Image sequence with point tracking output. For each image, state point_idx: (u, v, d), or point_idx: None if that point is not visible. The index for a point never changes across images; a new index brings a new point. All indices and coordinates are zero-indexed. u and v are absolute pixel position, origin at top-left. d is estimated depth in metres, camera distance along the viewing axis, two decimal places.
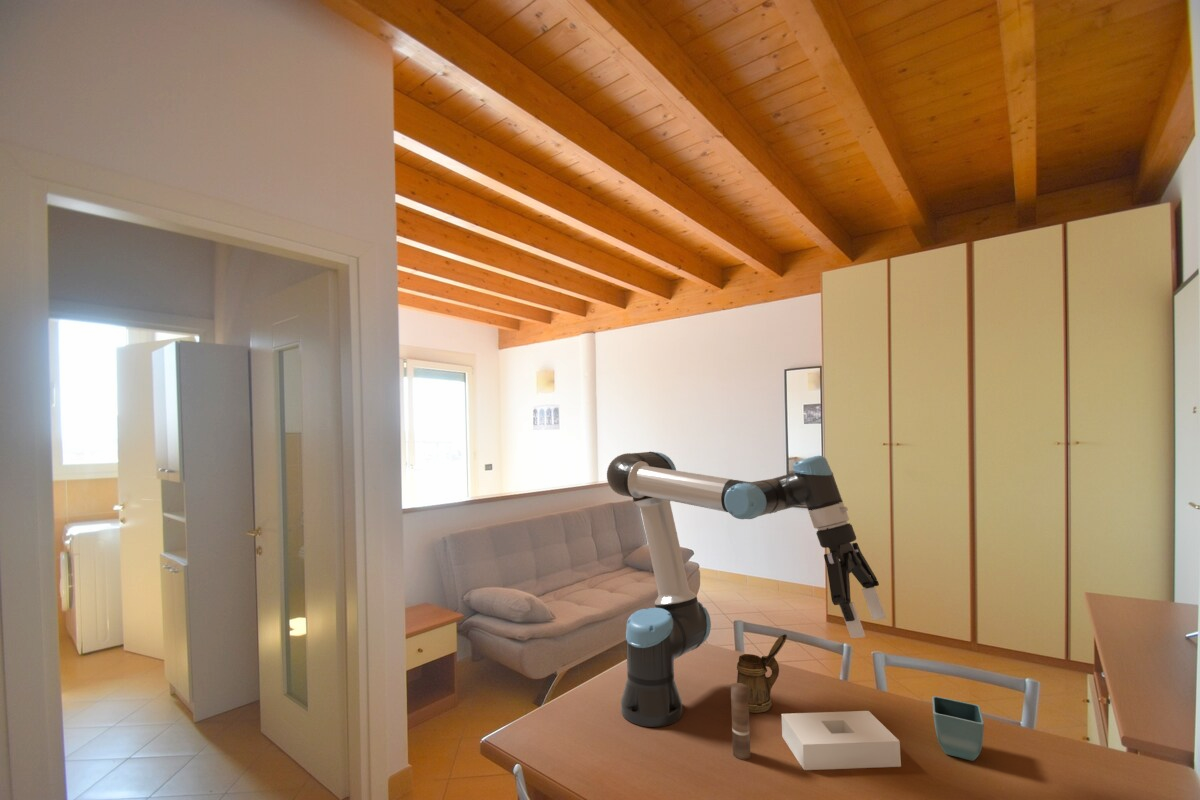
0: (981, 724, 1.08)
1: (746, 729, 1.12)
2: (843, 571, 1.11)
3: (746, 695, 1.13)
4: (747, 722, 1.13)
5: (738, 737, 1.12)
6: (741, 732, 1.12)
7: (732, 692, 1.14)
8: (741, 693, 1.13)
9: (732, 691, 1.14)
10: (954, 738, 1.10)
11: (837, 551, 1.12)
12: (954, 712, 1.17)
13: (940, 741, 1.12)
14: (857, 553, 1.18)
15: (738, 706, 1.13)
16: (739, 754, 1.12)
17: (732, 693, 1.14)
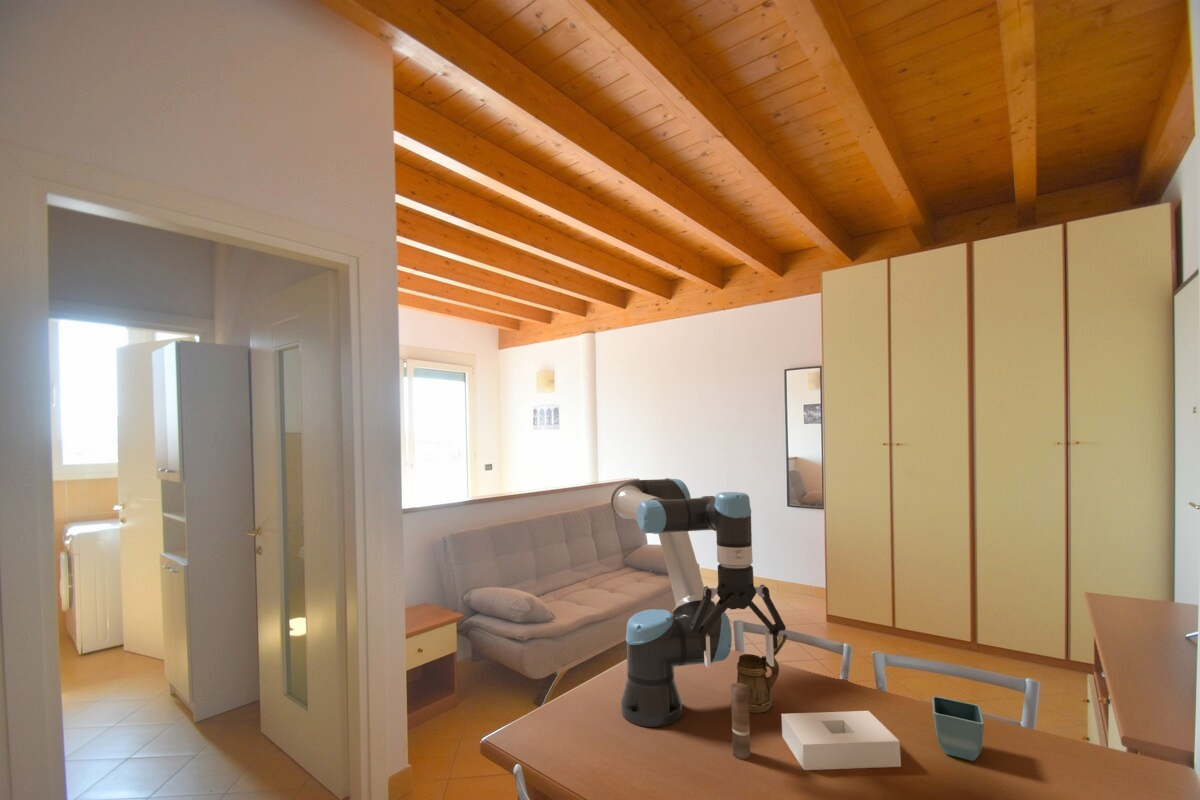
0: (981, 724, 1.08)
1: (746, 729, 1.12)
2: (717, 608, 1.15)
3: (746, 695, 1.13)
4: (747, 722, 1.13)
5: (738, 737, 1.12)
6: (741, 732, 1.12)
7: (732, 692, 1.14)
8: (741, 693, 1.13)
9: (732, 691, 1.14)
10: (954, 738, 1.10)
11: (719, 589, 1.15)
12: (954, 712, 1.17)
13: (940, 741, 1.12)
14: (764, 597, 1.15)
15: (738, 706, 1.13)
16: (739, 754, 1.12)
17: (732, 693, 1.14)
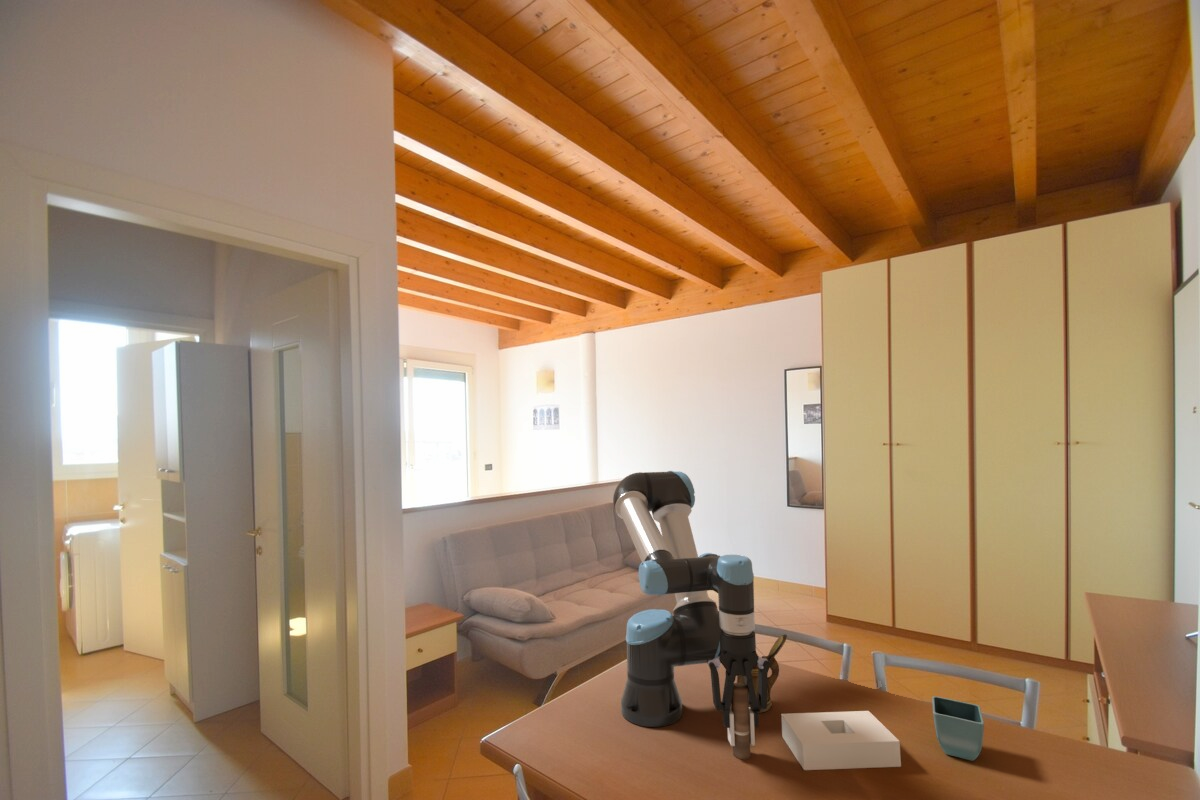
0: (981, 724, 1.08)
1: (746, 729, 1.12)
2: (727, 679, 1.14)
3: (746, 695, 1.13)
4: (747, 722, 1.13)
5: (738, 737, 1.12)
6: (741, 732, 1.12)
7: None
8: (741, 693, 1.13)
9: None
10: (954, 738, 1.10)
11: (719, 657, 1.14)
12: (954, 712, 1.17)
13: (940, 741, 1.12)
14: (761, 670, 1.14)
15: (738, 706, 1.13)
16: (739, 754, 1.12)
17: None
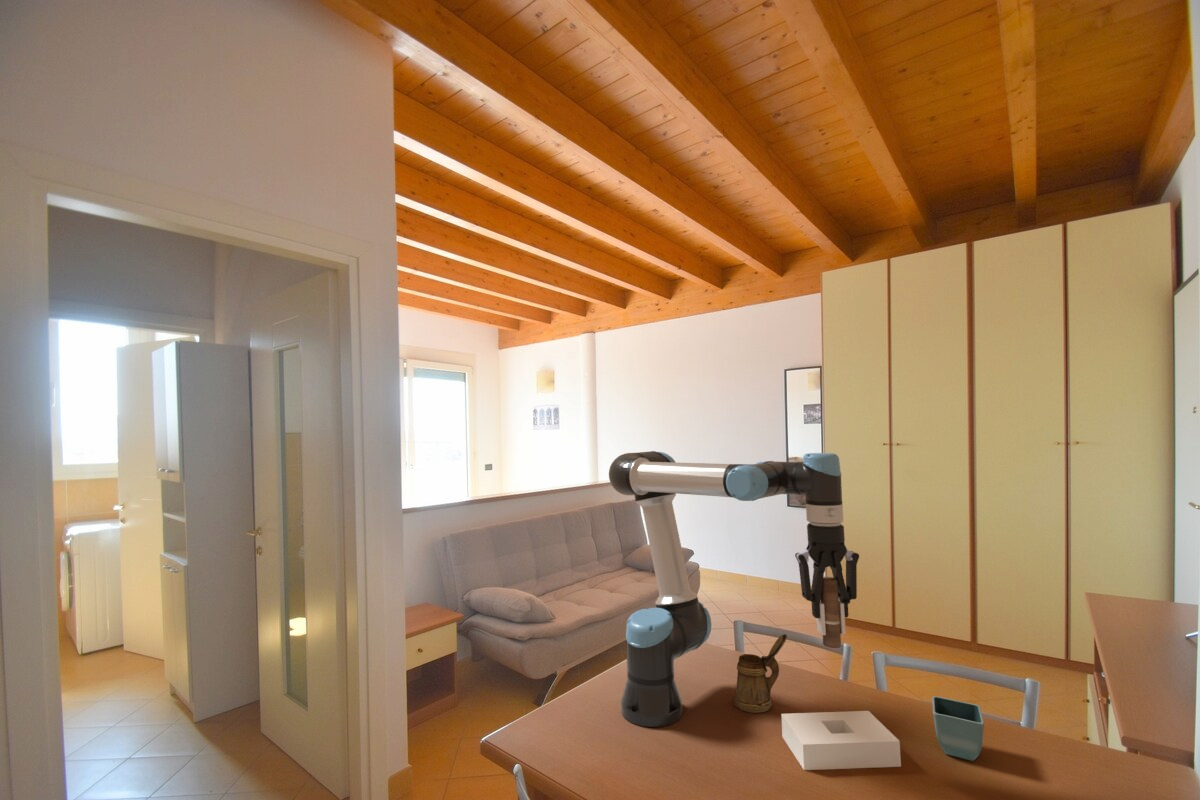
0: (981, 724, 1.08)
1: (837, 618, 1.14)
2: (817, 571, 1.16)
3: (836, 586, 1.15)
4: (838, 612, 1.14)
5: (829, 627, 1.14)
6: (832, 621, 1.14)
7: None
8: (831, 584, 1.14)
9: None
10: (954, 738, 1.10)
11: (808, 549, 1.16)
12: (954, 712, 1.17)
13: (940, 741, 1.12)
14: (850, 561, 1.16)
15: (829, 596, 1.14)
16: (830, 643, 1.14)
17: (822, 584, 1.15)
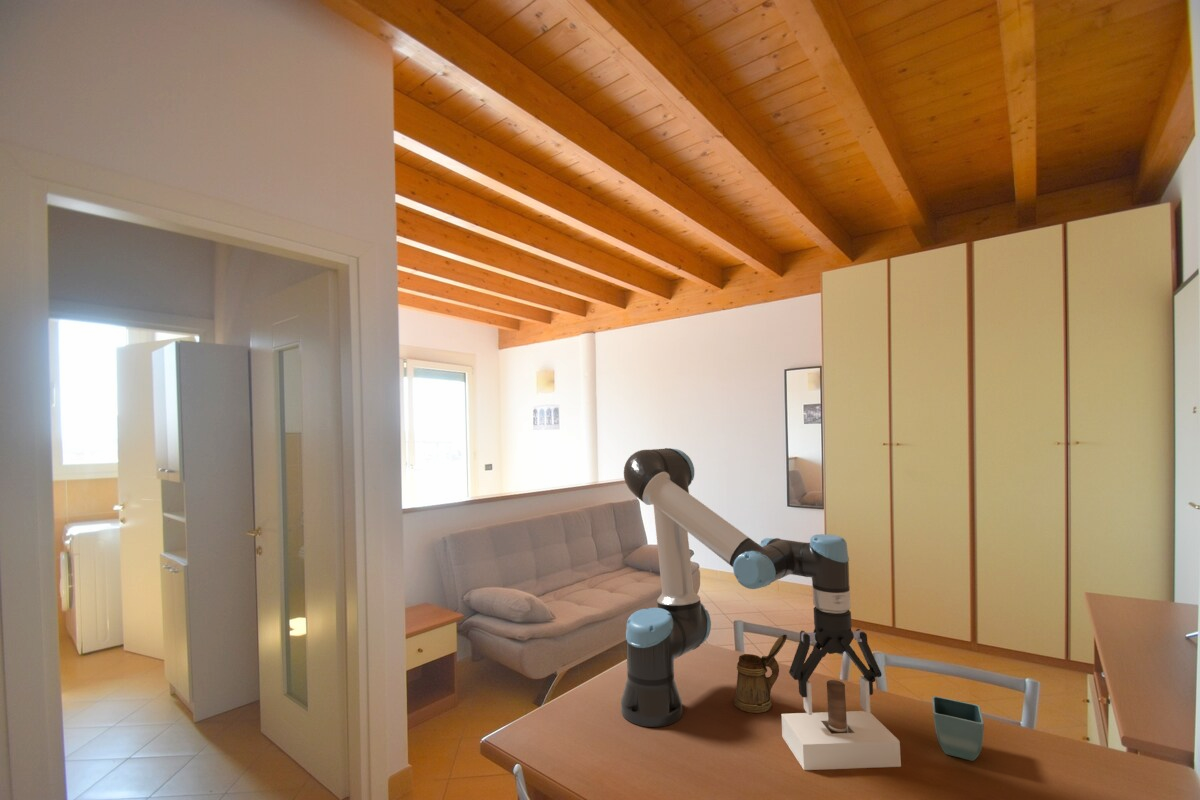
0: (981, 724, 1.08)
1: (844, 726, 1.13)
2: (816, 653, 1.15)
3: (844, 692, 1.13)
4: (845, 719, 1.13)
5: None
6: (839, 729, 1.13)
7: (829, 689, 1.14)
8: (839, 690, 1.13)
9: (829, 688, 1.14)
10: (954, 738, 1.10)
11: (816, 633, 1.15)
12: (954, 712, 1.17)
13: (940, 741, 1.12)
14: (861, 642, 1.15)
15: (836, 703, 1.13)
16: None
17: (829, 690, 1.14)
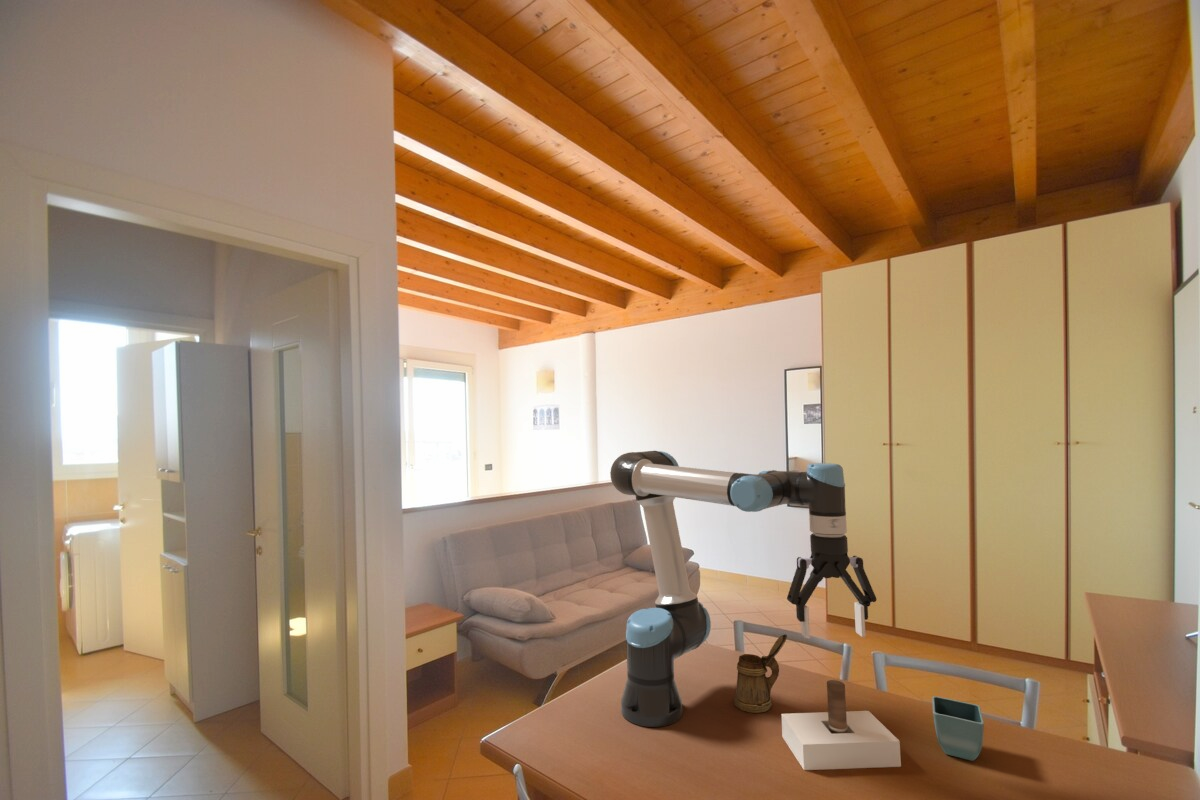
0: (981, 724, 1.08)
1: (844, 726, 1.13)
2: (813, 578, 1.16)
3: (844, 692, 1.13)
4: (845, 719, 1.13)
5: None
6: (839, 729, 1.13)
7: (829, 689, 1.14)
8: (839, 690, 1.13)
9: (829, 688, 1.14)
10: (954, 738, 1.10)
11: (813, 558, 1.16)
12: (954, 712, 1.17)
13: (940, 741, 1.12)
14: (857, 568, 1.16)
15: (836, 703, 1.13)
16: None
17: (829, 690, 1.14)
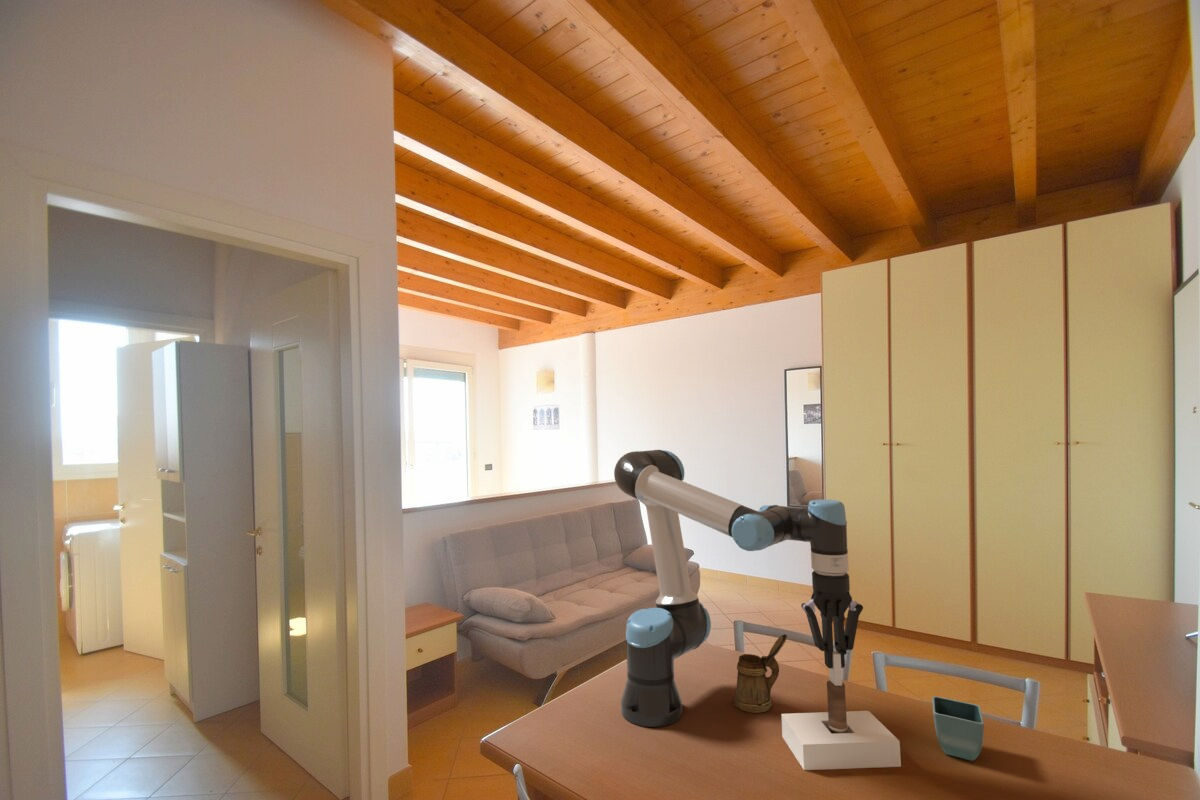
0: (981, 724, 1.08)
1: (844, 726, 1.13)
2: (825, 621, 1.15)
3: (844, 692, 1.13)
4: (845, 719, 1.13)
5: None
6: (839, 729, 1.13)
7: (829, 689, 1.14)
8: (839, 690, 1.13)
9: (829, 688, 1.14)
10: (954, 738, 1.10)
11: (813, 599, 1.15)
12: (954, 712, 1.17)
13: (940, 741, 1.12)
14: (853, 612, 1.15)
15: (836, 703, 1.13)
16: None
17: (829, 690, 1.14)
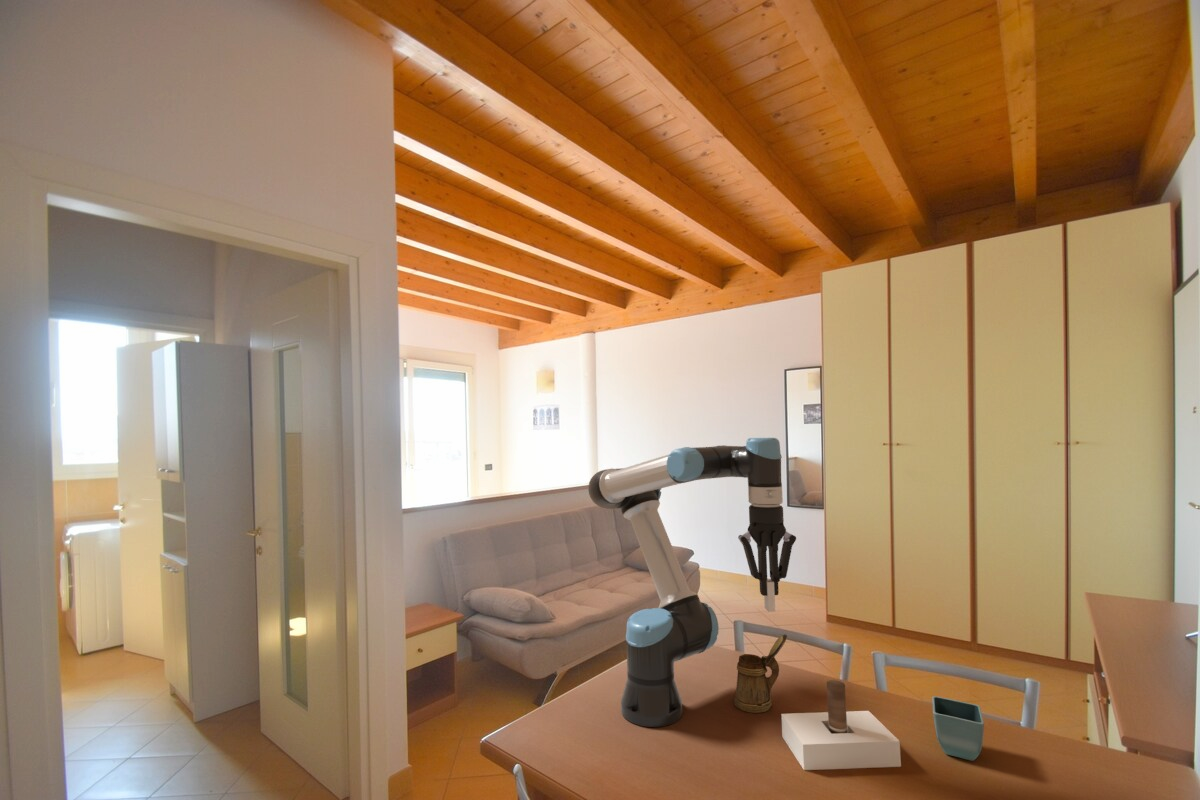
0: (981, 724, 1.08)
1: (844, 726, 1.13)
2: (760, 551, 1.21)
3: (844, 692, 1.13)
4: (845, 719, 1.13)
5: None
6: (839, 729, 1.13)
7: (829, 689, 1.14)
8: (839, 691, 1.13)
9: (829, 688, 1.14)
10: (954, 738, 1.10)
11: (749, 530, 1.21)
12: (954, 712, 1.17)
13: (940, 741, 1.12)
14: (787, 542, 1.21)
15: (836, 703, 1.13)
16: None
17: (829, 690, 1.14)
